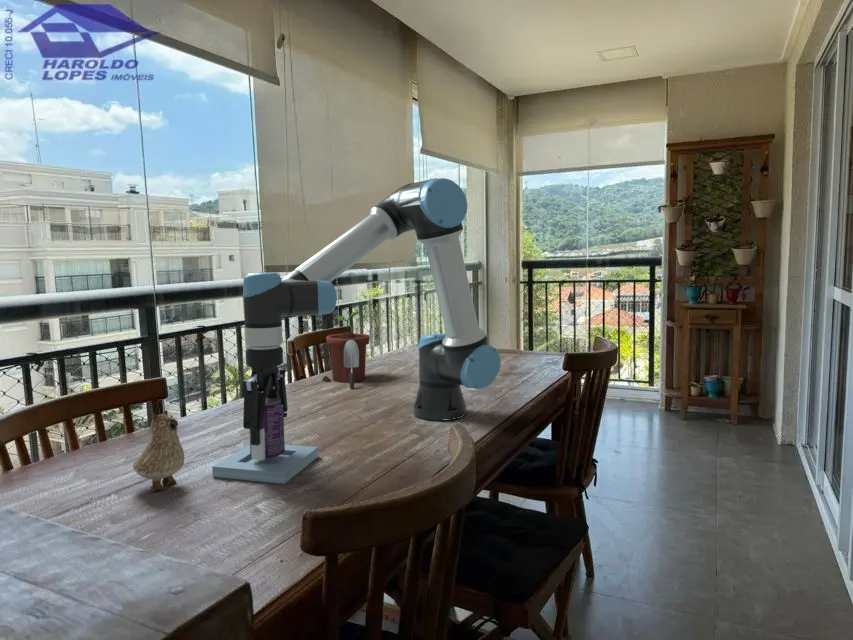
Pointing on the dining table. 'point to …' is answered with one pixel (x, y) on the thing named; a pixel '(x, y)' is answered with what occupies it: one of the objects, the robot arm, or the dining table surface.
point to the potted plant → (347, 355)
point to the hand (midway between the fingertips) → (267, 452)
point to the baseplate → (266, 465)
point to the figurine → (161, 453)
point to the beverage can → (273, 428)
